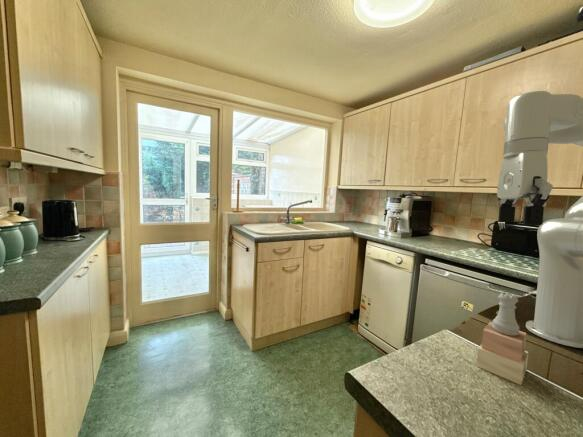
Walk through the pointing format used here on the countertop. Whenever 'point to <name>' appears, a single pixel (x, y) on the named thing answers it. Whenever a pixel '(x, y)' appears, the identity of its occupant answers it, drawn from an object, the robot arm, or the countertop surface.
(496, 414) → the countertop surface
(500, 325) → the rook chess piece
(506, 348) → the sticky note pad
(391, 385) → the countertop surface
